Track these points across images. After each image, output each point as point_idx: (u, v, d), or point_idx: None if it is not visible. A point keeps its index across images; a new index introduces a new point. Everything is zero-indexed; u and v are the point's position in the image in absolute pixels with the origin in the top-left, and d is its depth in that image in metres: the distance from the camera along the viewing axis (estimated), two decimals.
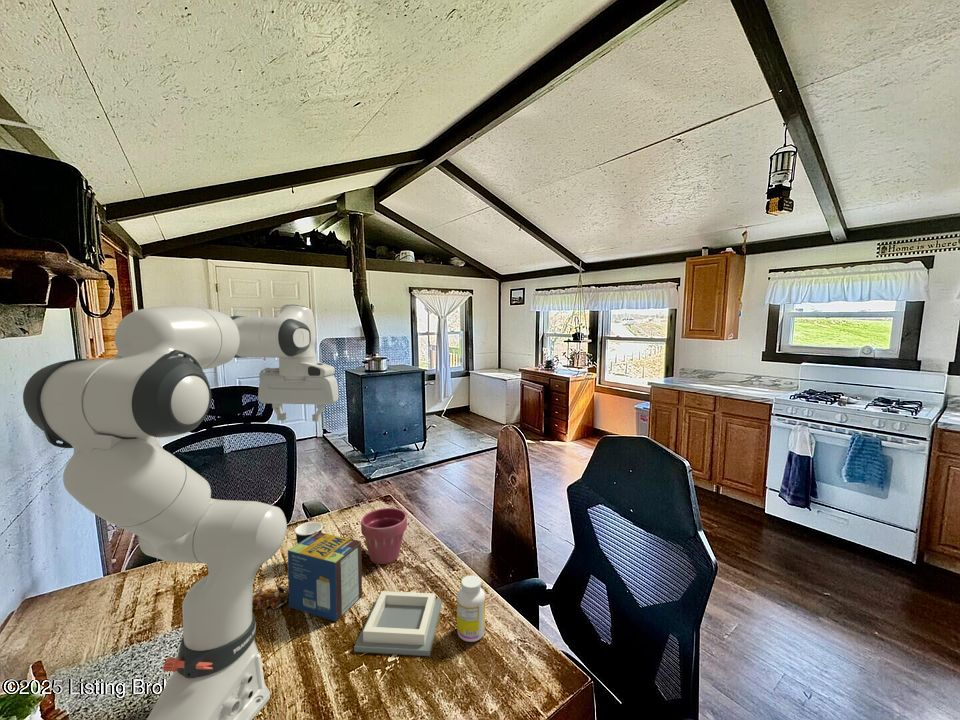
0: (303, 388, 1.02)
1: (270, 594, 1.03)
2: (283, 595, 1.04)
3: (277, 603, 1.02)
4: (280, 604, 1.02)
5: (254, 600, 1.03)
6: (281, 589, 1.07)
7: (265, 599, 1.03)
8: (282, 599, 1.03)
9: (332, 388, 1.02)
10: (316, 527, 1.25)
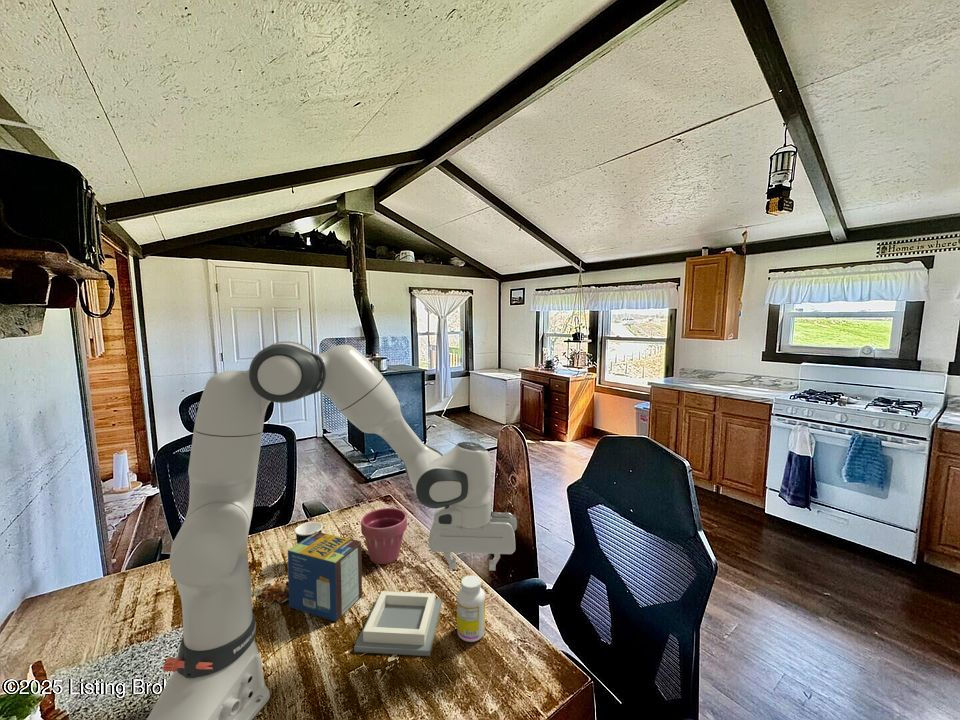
0: None
1: (277, 588, 1.05)
2: None
3: (283, 598, 1.04)
4: (286, 599, 1.04)
5: (262, 593, 1.05)
6: (288, 584, 1.09)
7: (272, 593, 1.05)
8: (288, 594, 1.05)
9: None
10: (316, 527, 1.25)
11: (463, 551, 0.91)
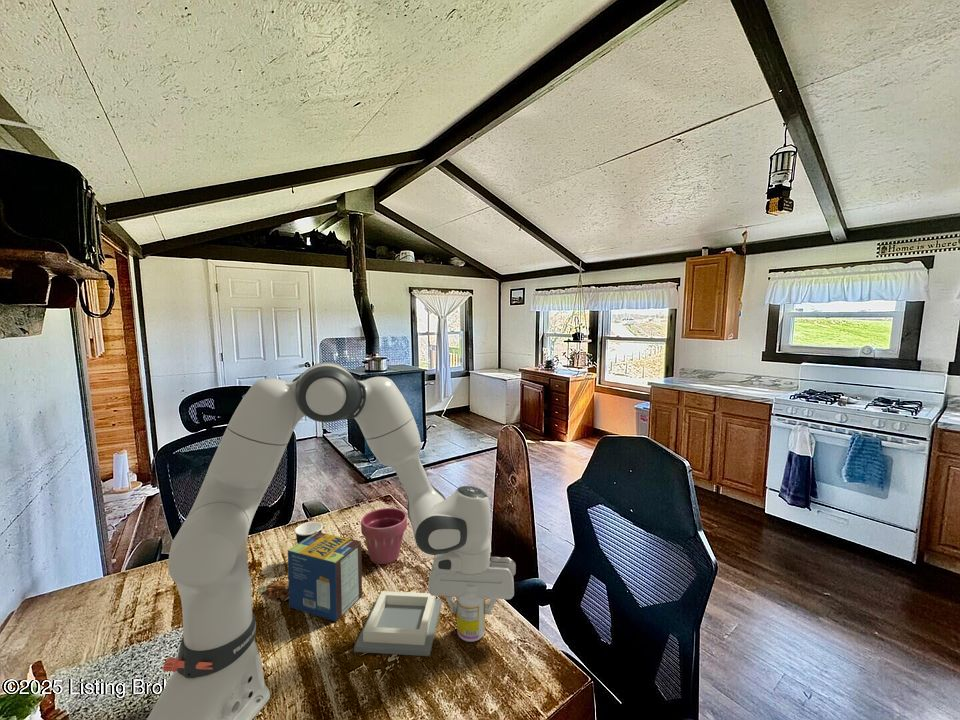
0: None
1: (281, 586, 1.06)
2: None
3: (286, 595, 1.05)
4: None
5: (266, 590, 1.07)
6: None
7: (276, 590, 1.06)
8: None
9: None
10: (316, 527, 1.25)
11: None
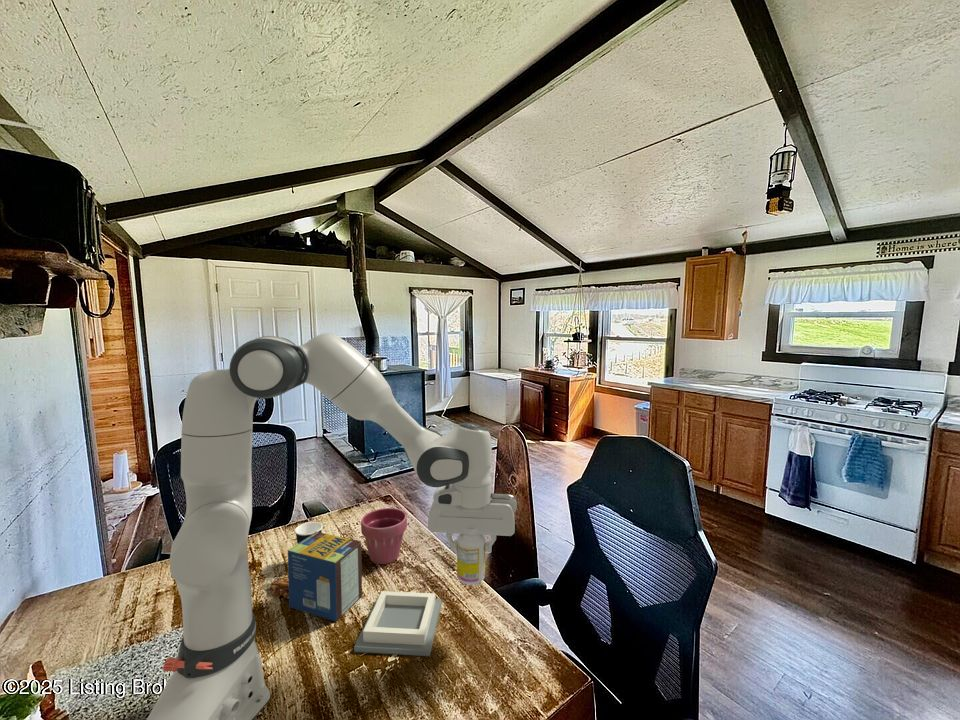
0: None
1: (284, 584, 1.07)
2: None
3: None
4: None
5: (270, 588, 1.08)
6: None
7: (279, 588, 1.07)
8: None
9: None
10: (316, 527, 1.25)
11: (462, 532, 0.91)
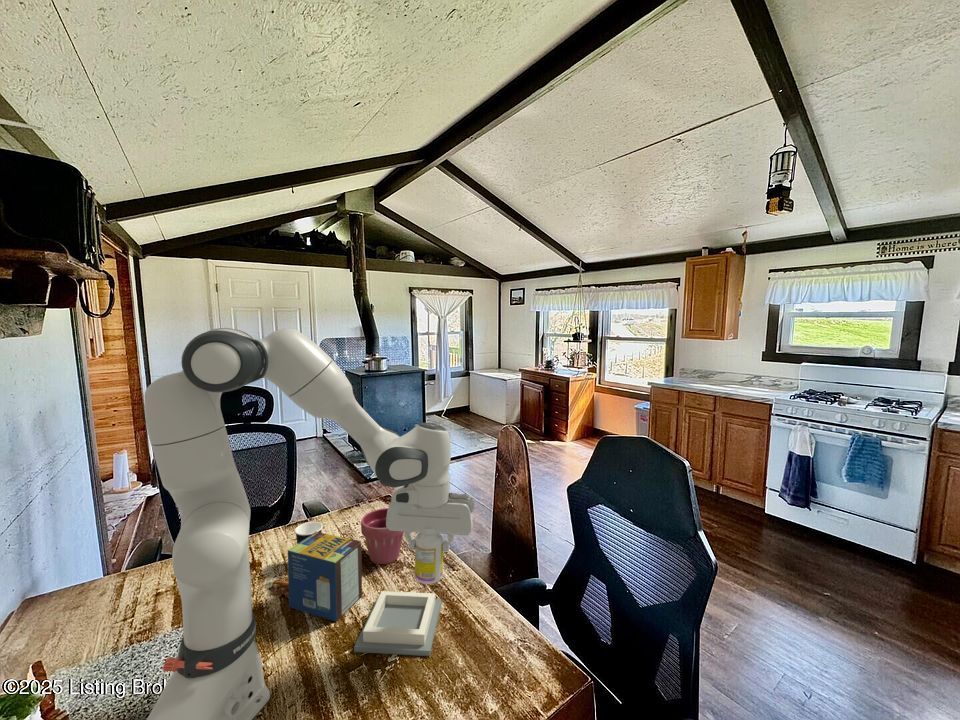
0: None
1: (285, 583, 1.08)
2: None
3: None
4: None
5: (272, 586, 1.08)
6: None
7: (281, 587, 1.08)
8: None
9: None
10: (316, 527, 1.25)
11: (420, 531, 0.92)
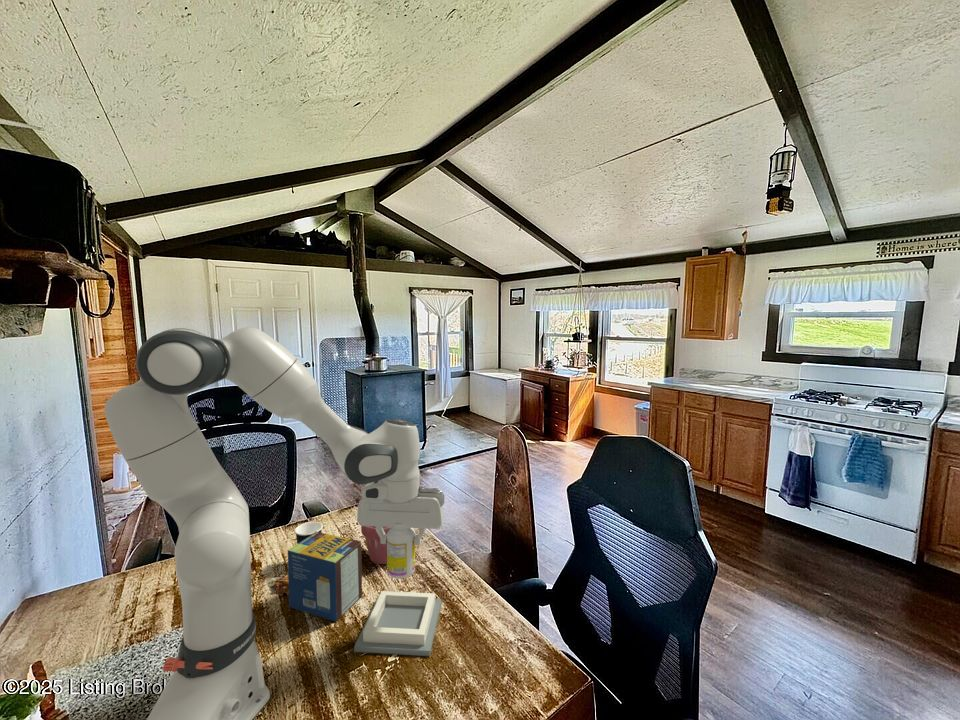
0: None
1: (287, 581, 1.08)
2: None
3: None
4: None
5: (274, 585, 1.09)
6: None
7: (283, 585, 1.08)
8: None
9: None
10: (316, 527, 1.25)
11: (390, 525, 0.93)
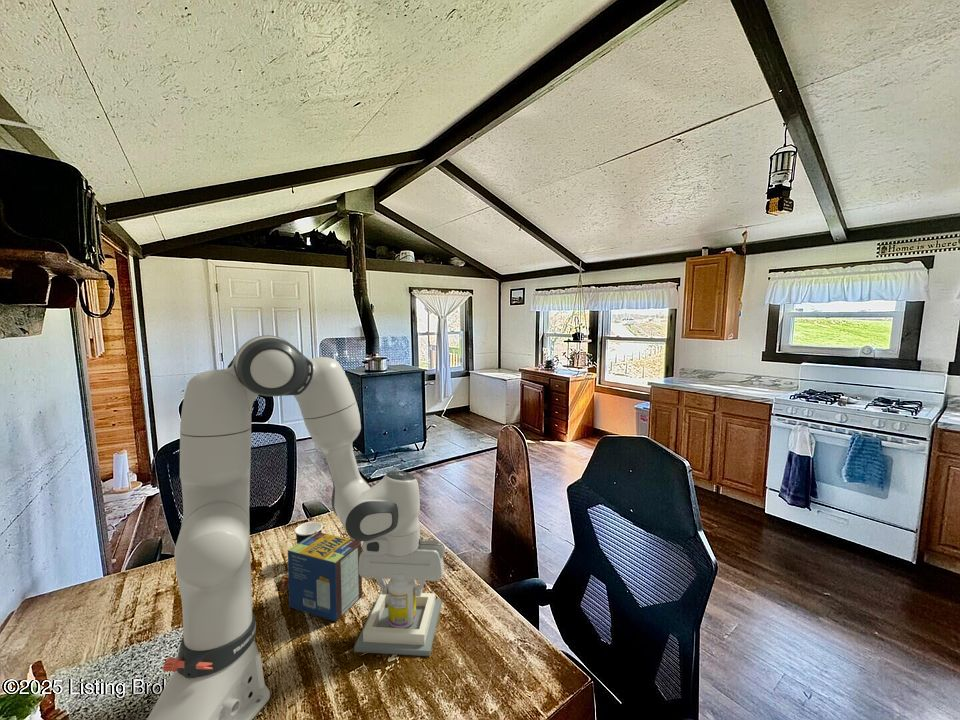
0: None
1: None
2: None
3: None
4: None
5: (280, 581, 1.11)
6: None
7: (288, 582, 1.10)
8: None
9: None
10: (316, 527, 1.25)
11: (391, 577, 0.94)
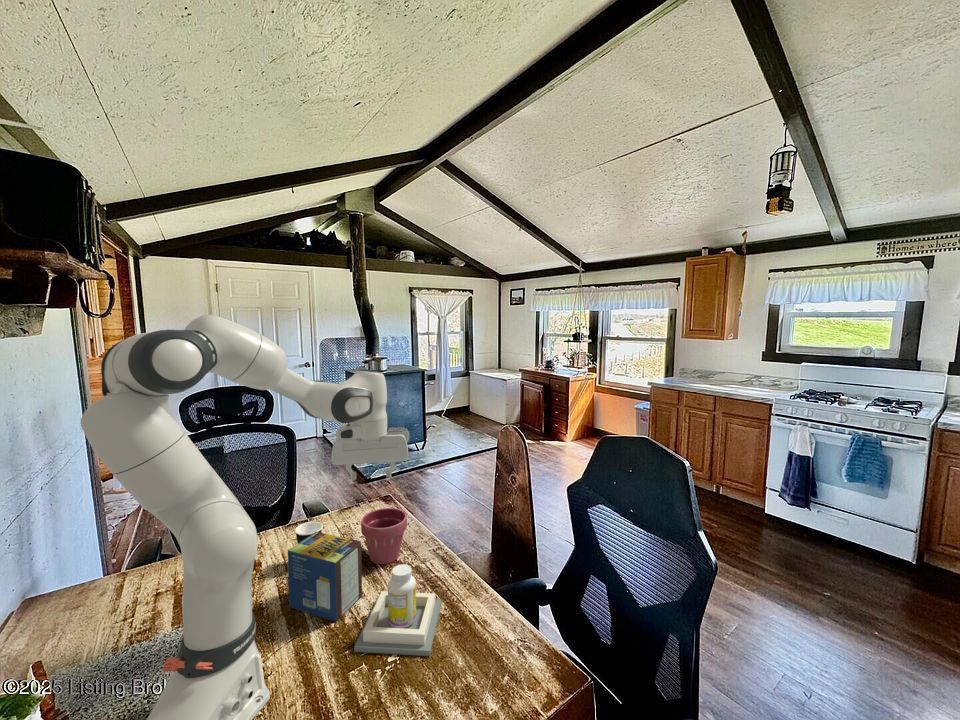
0: None
1: None
2: None
3: None
4: None
5: None
6: None
7: None
8: None
9: None
10: (316, 527, 1.25)
11: (363, 462, 1.06)
